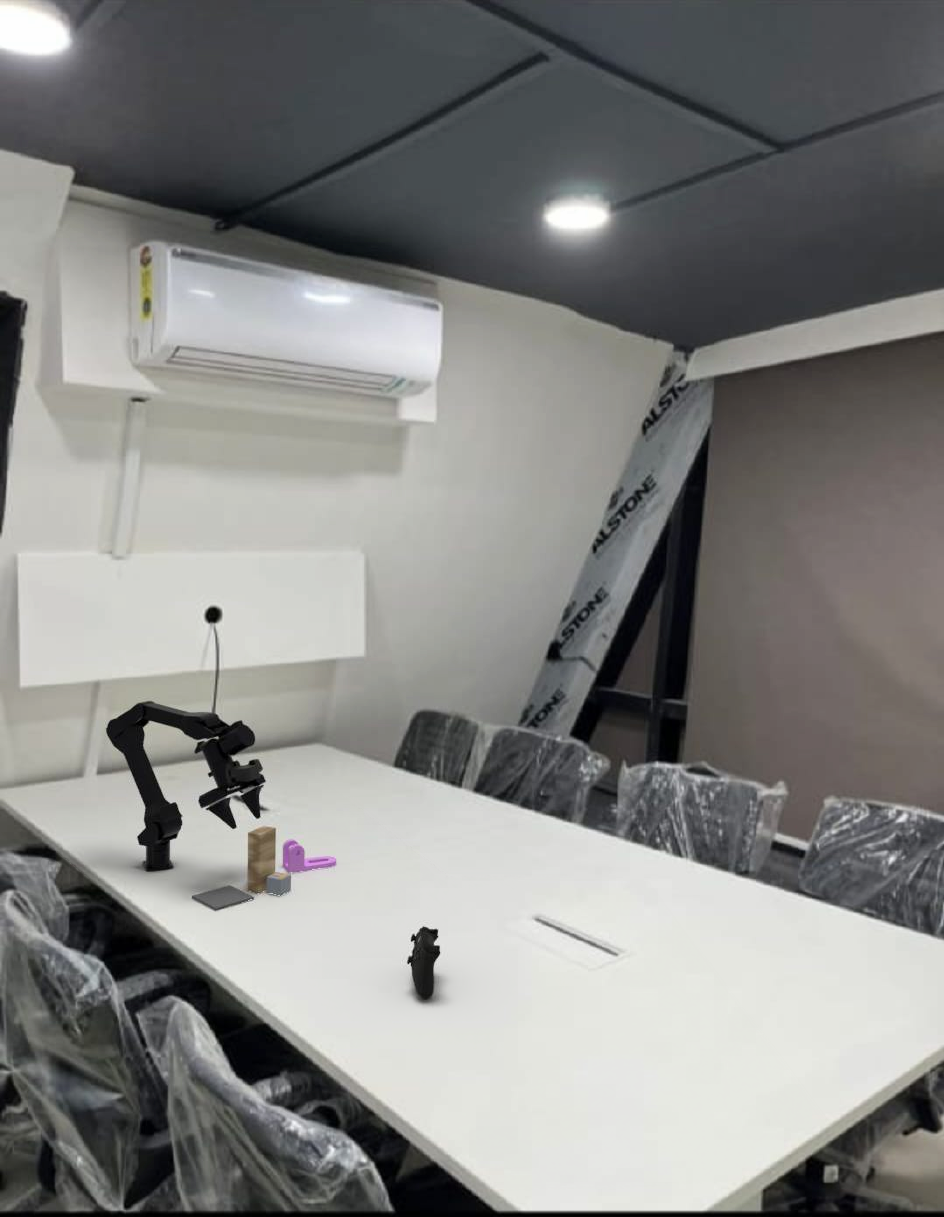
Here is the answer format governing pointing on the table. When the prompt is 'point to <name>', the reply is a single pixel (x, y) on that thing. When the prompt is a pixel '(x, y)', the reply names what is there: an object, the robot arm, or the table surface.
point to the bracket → (302, 858)
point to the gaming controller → (424, 960)
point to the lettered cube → (279, 883)
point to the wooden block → (261, 857)
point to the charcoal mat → (222, 897)
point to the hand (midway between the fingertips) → (247, 823)
